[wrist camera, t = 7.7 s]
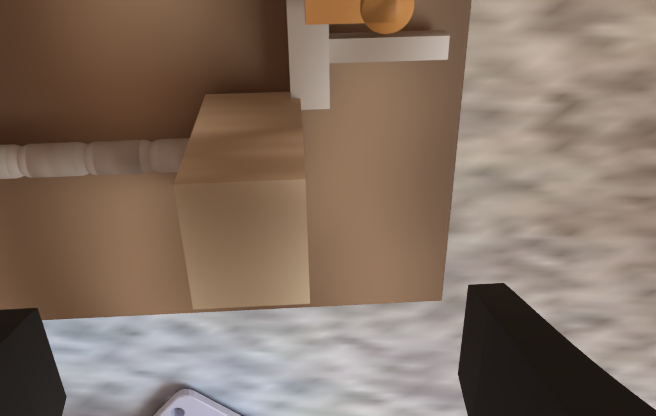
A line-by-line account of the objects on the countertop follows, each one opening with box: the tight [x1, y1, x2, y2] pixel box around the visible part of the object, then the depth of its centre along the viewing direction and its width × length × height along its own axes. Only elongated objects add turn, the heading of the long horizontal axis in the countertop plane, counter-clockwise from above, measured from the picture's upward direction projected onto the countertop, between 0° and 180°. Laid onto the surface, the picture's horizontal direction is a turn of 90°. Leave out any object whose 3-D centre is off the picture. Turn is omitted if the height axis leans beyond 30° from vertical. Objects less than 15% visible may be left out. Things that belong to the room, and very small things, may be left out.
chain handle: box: [0, 0, 450, 309], centre depth 13 cm, size 18×7×5 cm, turn 91°
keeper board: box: [0, 0, 471, 320], centre depth 16 cm, size 24×12×4 cm, turn 91°
